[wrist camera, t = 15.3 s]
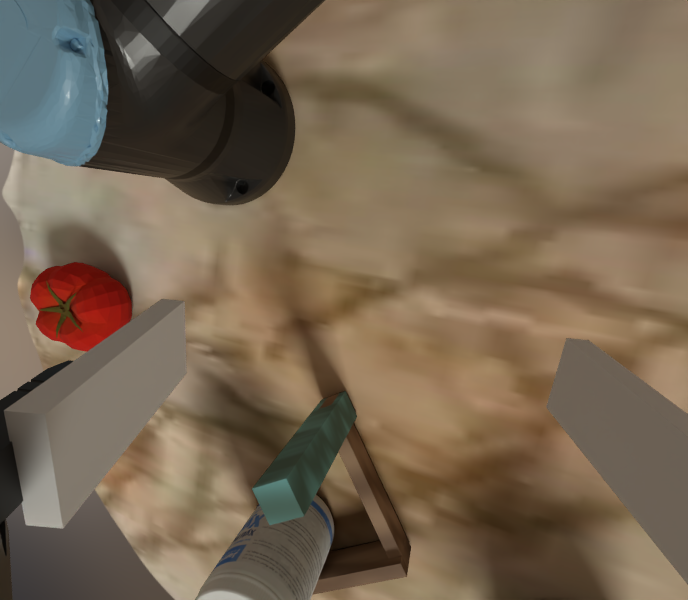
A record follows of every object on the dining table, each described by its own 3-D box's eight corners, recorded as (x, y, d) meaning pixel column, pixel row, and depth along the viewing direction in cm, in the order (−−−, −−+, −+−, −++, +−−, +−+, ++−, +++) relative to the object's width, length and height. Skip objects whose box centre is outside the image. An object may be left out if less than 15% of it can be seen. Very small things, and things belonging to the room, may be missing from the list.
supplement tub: (271, 468, 48) (196, 567, 34) (346, 501, 47) (299, 619, 33) (254, 534, 51) (177, 651, 37) (325, 567, 49) (272, 704, 35)
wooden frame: (417, 545, 45) (396, 709, 30) (274, 576, 51) (195, 725, 35) (345, 391, 44) (286, 478, 29) (208, 440, 50) (98, 534, 35)
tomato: (136, 351, 51) (91, 369, 45) (66, 324, 53) (14, 337, 47) (146, 277, 49) (101, 284, 42) (73, 251, 51) (20, 254, 45)
